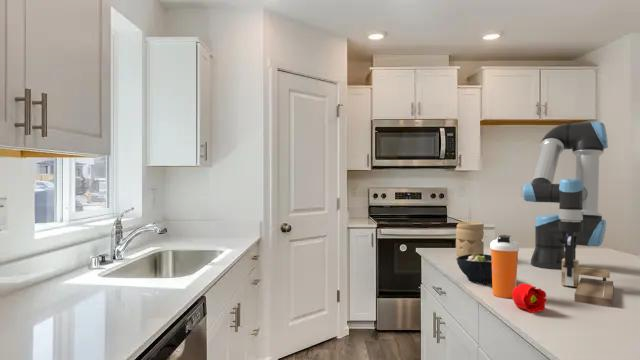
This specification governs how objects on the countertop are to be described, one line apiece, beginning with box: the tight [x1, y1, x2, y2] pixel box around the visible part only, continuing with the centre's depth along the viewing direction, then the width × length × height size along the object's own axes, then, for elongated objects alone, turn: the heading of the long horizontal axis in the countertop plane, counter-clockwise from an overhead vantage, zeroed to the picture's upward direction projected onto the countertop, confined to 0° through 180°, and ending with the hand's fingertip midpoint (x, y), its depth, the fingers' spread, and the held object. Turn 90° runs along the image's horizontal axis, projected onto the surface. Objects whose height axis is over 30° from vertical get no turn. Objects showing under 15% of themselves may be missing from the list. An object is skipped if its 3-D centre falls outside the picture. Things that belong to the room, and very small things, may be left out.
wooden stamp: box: [561, 258, 611, 288], centre depth 153 cm, size 14×5×9 cm, turn 55°
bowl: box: [456, 254, 492, 284], centre depth 163 cm, size 17×17×10 cm
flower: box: [512, 283, 548, 314], centre depth 128 cm, size 8×8×8 cm
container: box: [455, 221, 485, 261], centre depth 203 cm, size 13×13×18 cm
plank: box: [573, 277, 614, 308], centre depth 144 cm, size 10×28×2 cm, turn 145°
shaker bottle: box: [489, 234, 520, 299], centre depth 142 cm, size 9×9×20 cm
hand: (570, 283), depth 156 cm, fingers closed on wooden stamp, 5 cm apart
